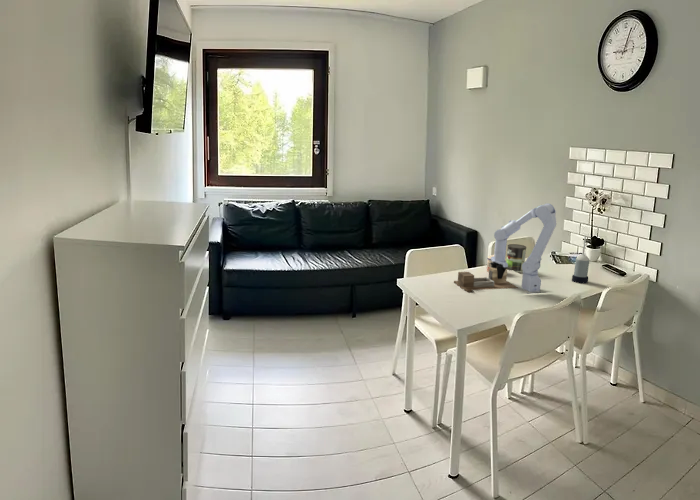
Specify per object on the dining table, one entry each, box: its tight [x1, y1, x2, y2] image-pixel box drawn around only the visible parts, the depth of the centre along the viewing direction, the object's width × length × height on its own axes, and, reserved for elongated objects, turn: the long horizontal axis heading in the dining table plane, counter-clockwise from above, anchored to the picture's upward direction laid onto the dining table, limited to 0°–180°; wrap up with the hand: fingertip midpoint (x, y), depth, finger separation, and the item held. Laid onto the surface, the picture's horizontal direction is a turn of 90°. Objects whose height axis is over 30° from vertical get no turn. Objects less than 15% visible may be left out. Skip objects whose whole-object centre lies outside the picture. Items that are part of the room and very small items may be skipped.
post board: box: [453, 271, 519, 293], centre depth 277 cm, size 16×28×7 cm, turn 103°
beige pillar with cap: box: [488, 268, 508, 283], centre depth 282 cm, size 4×8×7 cm, turn 103°
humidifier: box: [571, 235, 590, 285], centre depth 289 cm, size 8×8×25 cm
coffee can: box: [505, 243, 527, 273], centre depth 310 cm, size 10×10×14 cm
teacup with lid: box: [486, 254, 494, 274], centre depth 300 cm, size 12×9×12 cm
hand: (497, 277), depth 283 cm, fingers closed on beige pillar with cap, 4 cm apart
